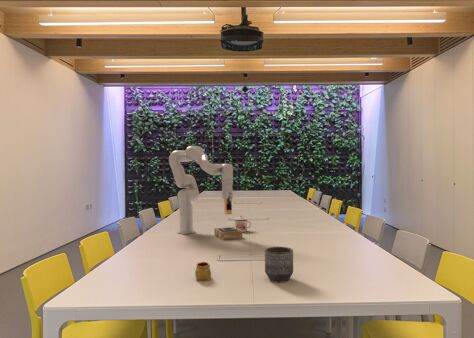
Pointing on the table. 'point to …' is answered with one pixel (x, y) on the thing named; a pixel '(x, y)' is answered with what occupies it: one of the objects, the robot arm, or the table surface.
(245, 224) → the teacup with lid
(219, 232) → the oak box
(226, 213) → the block
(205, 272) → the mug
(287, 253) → the planter
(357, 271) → the table surface
